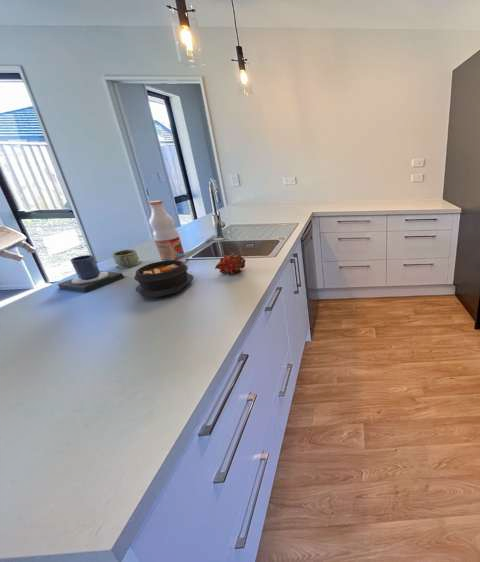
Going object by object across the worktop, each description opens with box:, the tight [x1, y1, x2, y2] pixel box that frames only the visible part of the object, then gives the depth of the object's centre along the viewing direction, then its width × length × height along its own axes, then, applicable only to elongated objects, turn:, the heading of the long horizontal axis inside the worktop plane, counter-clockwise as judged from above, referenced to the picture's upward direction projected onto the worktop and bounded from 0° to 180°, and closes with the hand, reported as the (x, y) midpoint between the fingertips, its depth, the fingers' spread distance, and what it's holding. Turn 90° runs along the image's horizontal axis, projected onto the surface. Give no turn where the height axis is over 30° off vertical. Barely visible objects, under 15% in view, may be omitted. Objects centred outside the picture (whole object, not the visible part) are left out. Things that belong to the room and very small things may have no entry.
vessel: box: [111, 248, 140, 269], centre depth 136 cm, size 12×9×6 cm
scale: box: [57, 270, 124, 293], centre depth 118 cm, size 14×14×3 cm
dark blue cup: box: [70, 254, 101, 280], centre depth 116 cm, size 6×6×8 cm
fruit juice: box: [148, 200, 187, 264], centre depth 132 cm, size 9×9×28 cm
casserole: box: [133, 260, 194, 299], centre depth 112 cm, size 25×19×8 cm
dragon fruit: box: [214, 253, 246, 275], centre depth 125 cm, size 8×8×12 cm
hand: (28, 255), depth 106 cm, fingers open, 8 cm apart
